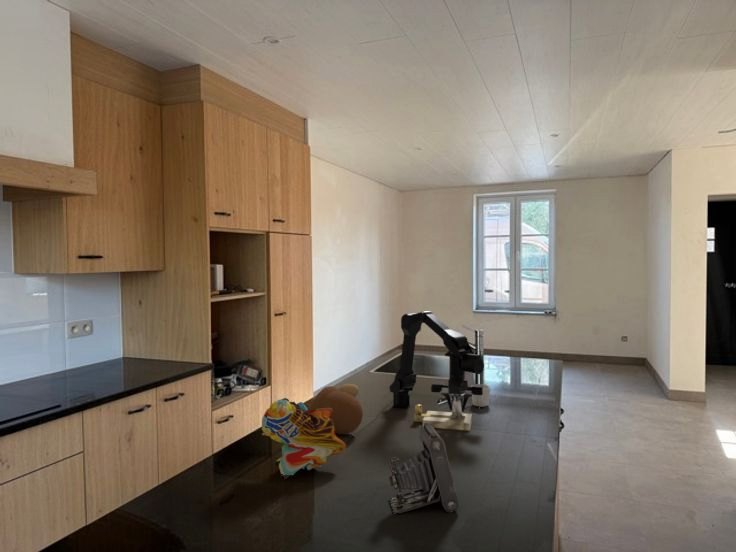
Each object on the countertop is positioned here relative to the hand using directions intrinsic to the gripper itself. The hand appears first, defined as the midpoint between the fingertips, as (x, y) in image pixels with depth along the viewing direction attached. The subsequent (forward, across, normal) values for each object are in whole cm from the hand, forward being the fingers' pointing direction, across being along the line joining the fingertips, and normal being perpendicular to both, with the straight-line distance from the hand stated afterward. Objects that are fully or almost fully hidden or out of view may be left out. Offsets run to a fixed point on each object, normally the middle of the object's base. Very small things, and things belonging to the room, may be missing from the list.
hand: (457, 411), depth 190 cm
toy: (+5, -41, -20) cm, 46 cm away
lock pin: (+5, -13, 0) cm, 14 cm away
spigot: (+2, 0, 0) cm, 2 cm away
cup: (+5, +7, +26) cm, 27 cm away
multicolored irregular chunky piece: (+5, -40, -52) cm, 66 cm away
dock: (+5, -4, 0) cm, 6 cm away
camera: (+5, -2, -66) cm, 66 cm away
